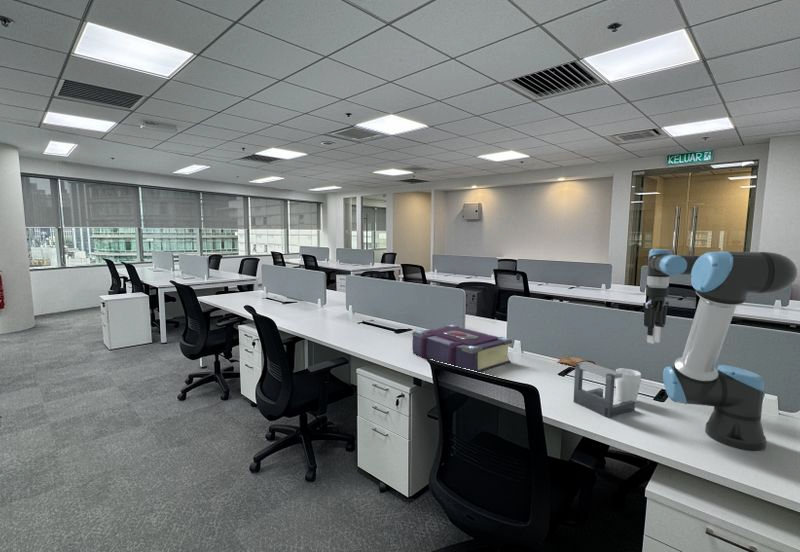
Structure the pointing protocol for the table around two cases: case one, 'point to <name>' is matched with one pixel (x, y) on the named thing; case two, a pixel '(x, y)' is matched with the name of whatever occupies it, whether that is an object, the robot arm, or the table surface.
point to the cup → (627, 384)
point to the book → (461, 347)
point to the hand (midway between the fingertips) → (653, 342)
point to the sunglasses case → (572, 361)
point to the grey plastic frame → (599, 391)
